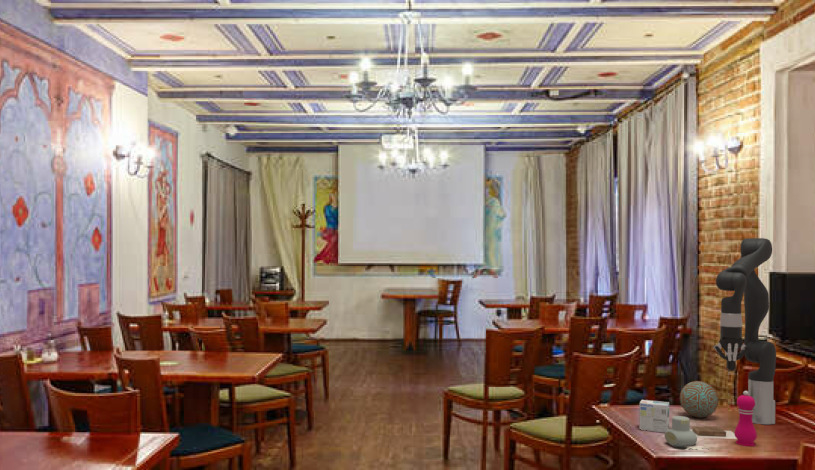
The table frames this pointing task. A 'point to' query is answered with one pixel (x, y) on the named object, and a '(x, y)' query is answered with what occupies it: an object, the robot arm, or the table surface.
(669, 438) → the air freshener
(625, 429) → the table surface
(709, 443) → the table surface
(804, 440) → the table surface
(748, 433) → the pepper mill
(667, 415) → the light bulb box
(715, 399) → the decorative sphere
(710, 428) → the wooden block
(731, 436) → the board
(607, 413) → the table surface
